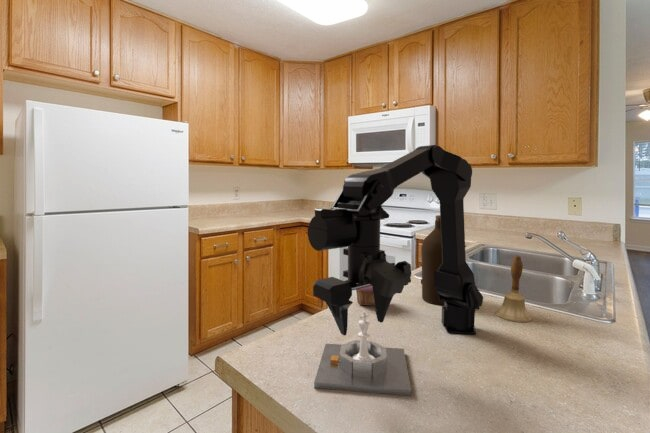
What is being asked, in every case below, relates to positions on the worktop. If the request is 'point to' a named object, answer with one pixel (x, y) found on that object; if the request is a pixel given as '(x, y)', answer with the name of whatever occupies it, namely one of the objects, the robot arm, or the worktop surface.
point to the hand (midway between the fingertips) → (362, 327)
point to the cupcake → (365, 296)
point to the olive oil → (431, 263)
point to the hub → (363, 369)
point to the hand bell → (514, 297)
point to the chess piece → (363, 340)
